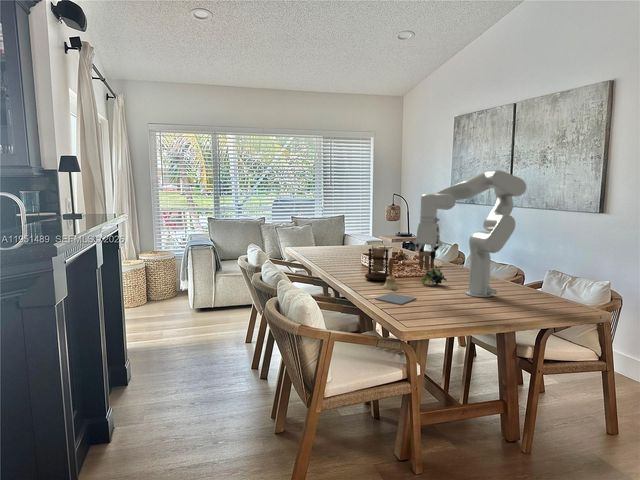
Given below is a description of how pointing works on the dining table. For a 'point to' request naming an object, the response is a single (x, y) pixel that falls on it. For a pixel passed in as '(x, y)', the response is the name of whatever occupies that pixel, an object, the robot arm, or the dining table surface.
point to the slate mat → (396, 298)
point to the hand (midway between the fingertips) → (427, 258)
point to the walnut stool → (426, 260)
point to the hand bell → (390, 278)
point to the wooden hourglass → (377, 264)
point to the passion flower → (433, 276)
